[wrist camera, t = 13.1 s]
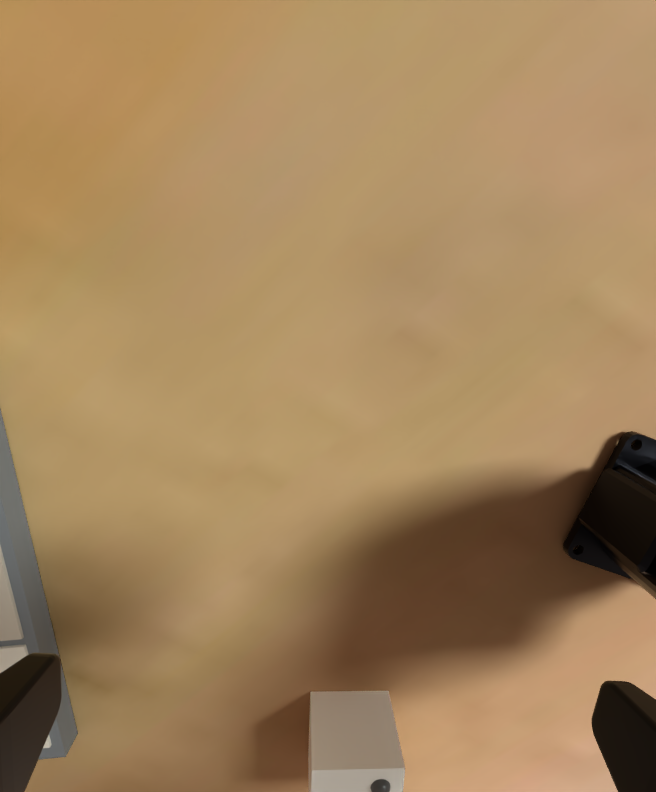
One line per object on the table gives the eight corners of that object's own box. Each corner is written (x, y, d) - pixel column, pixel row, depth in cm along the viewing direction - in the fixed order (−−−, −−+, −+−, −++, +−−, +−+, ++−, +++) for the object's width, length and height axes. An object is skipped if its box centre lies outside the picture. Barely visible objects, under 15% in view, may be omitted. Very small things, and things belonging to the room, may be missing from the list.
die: (388, 689, 24) (406, 776, 19) (383, 751, 25) (400, 848, 20) (310, 690, 23) (312, 779, 19) (308, 753, 24) (309, 850, 20)
